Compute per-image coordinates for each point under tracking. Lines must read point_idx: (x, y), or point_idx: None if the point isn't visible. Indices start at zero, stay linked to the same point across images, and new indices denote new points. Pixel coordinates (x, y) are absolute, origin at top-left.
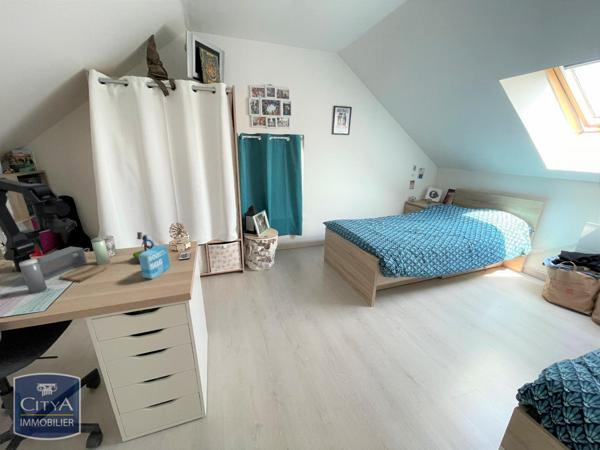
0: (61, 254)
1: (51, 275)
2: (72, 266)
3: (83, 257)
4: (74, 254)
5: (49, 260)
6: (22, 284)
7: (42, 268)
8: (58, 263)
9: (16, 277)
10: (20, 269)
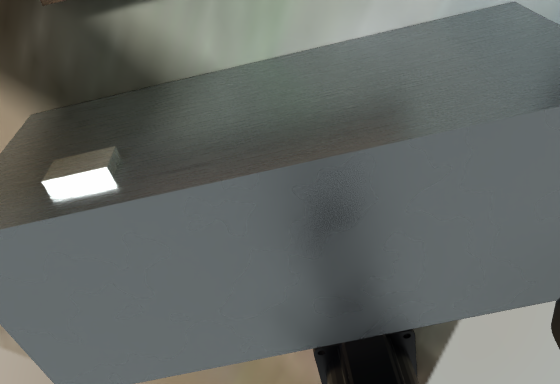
0: (233, 237)
1: (403, 38)
2: (180, 89)
3: (22, 151)
4: (90, 177)
5: (435, 140)
6: None
7: (520, 73)
8: (319, 110)
9: None
10: (404, 353)
